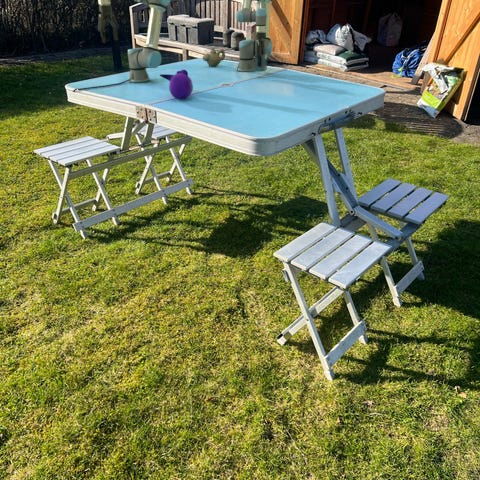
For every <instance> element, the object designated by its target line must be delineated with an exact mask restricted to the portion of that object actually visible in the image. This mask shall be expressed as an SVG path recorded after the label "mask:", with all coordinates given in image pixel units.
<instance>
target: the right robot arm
mask: <svg viewBox="0 0 480 480" xmlns="http://www.w3.org/2000/svg"><path fill="white" fill-rule="evenodd" d="M273 1H274V0H241V5H240V9H239V10H237V11H236V21H237V23H255V38H256V40H254V39H253V38H248V39H243V40H241V41H239V43H238V54H239V55H238V56H239V57H238V59H239V61H238V65H237V67H236V70H237V72H241V73H250V72H256V71H255V54H257V56H256V57H258V67H261V54H267V58H268V57H271V56H272V52H273V40H272V38H271V37H270V14H271V5H272V3H273ZM252 2H256V3H257V5H258V8H256V9H255V10H251V9H252V4H253V3H252Z"/></svg>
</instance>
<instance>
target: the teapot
mask: <svg viewBox="0 0 480 480" xmlns="http://www.w3.org/2000/svg"><path fill="white" fill-rule="evenodd" d="M220 55H221V56H220ZM225 59H226V52H225V50H224V49H219V50H218V51H217V50H216V49H215V47H211V50H210V51H209V53H205V54H203V56H202V60H203V61H204V62H206V63H207V65H208V66H209V67H217V66H218V65H220V64H221V62H223V61H224V60H225Z"/></svg>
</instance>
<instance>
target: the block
mask: <svg viewBox="0 0 480 480" xmlns="http://www.w3.org/2000/svg"><path fill="white" fill-rule="evenodd" d="M256 56H257V54H255V57H254V63H255V71H254V72H266V71H267V70H268V57H267V54H261V67H258V57H256Z"/></svg>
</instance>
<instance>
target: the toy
mask: <svg viewBox="0 0 480 480" xmlns="http://www.w3.org/2000/svg"><path fill="white" fill-rule="evenodd" d="M159 76H160V77H161V78H163V79H165V80H167V81H169V84H168V88H169V92H170V95H171V96H172V97H173V98H174V99H177V100H186V99H188V98H189V97H190V95H191V94H192V93H193V91H194V85H193V81H192V78H191V77H189V73H188V70H186V69H181V70H177V71H176V73H175V74H168V73H167V74H165V73H163V74H162V73H161V74H159Z"/></svg>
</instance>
